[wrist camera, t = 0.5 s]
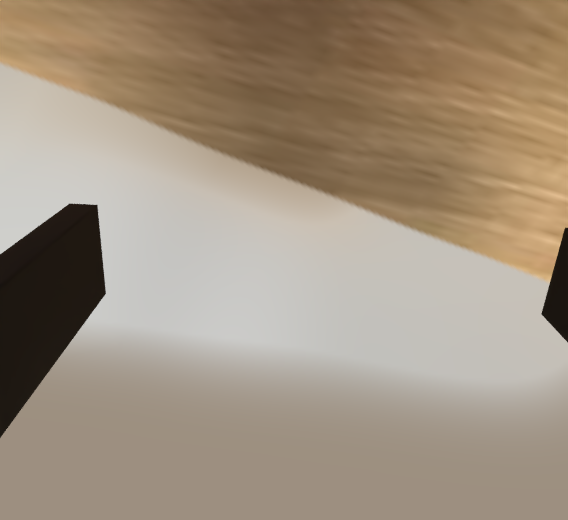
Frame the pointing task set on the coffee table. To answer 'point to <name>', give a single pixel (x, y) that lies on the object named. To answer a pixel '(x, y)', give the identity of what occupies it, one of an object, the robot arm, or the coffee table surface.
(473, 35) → the coffee table surface
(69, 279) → the robot arm
